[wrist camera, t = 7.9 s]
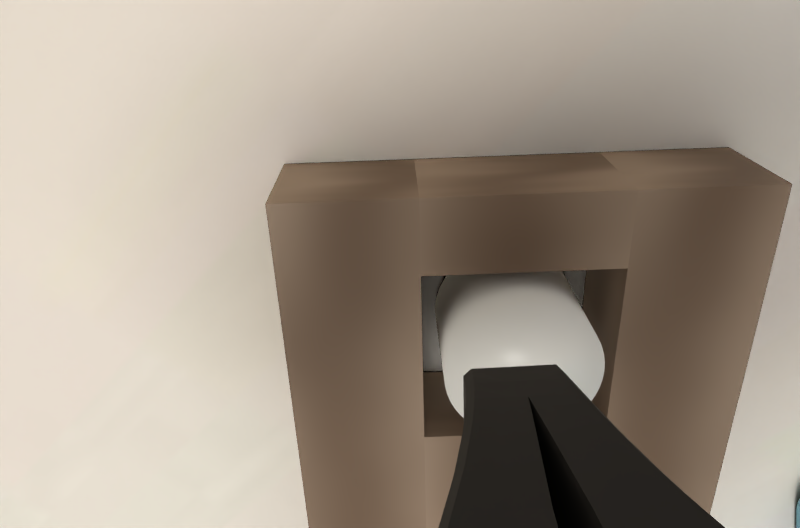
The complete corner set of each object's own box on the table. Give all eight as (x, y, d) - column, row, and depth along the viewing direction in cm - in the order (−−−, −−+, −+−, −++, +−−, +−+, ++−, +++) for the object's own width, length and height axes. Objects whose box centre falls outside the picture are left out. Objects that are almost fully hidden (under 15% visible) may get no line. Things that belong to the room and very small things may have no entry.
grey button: (576, 243, 18) (613, 300, 15) (565, 360, 20) (596, 433, 17) (434, 248, 18) (443, 307, 15) (435, 365, 20) (444, 439, 17)
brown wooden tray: (728, 147, 17) (792, 184, 15) (640, 593, 25) (670, 670, 23) (284, 164, 17) (265, 204, 15) (335, 605, 25) (329, 684, 23)
